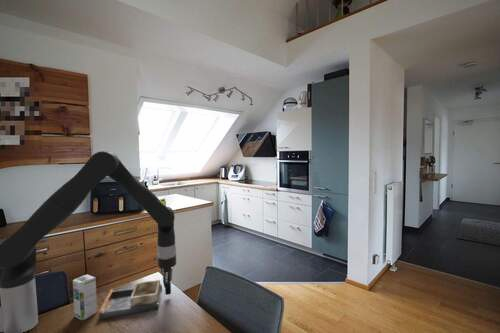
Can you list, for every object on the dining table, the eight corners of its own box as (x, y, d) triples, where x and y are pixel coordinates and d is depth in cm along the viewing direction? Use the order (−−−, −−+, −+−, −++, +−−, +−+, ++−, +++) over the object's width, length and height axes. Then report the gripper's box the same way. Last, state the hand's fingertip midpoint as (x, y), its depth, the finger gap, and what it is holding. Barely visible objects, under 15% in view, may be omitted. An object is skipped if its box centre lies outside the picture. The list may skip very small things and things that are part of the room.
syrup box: (73, 316, 95) (71, 280, 94) (89, 307, 101) (87, 273, 100) (82, 321, 93) (79, 283, 92) (98, 312, 98) (96, 276, 97)
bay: (99, 319, 94) (98, 311, 93) (111, 296, 108) (110, 289, 108) (158, 310, 99) (157, 302, 98) (162, 288, 114) (161, 282, 113)
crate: (130, 309, 98) (130, 298, 98) (136, 293, 109) (136, 282, 109) (157, 305, 100) (157, 294, 100) (160, 289, 112) (160, 279, 111)
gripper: (159, 249, 111) (160, 286, 112) (155, 262, 98) (157, 304, 99) (176, 247, 113) (177, 284, 114) (175, 260, 100) (176, 301, 101)
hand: (168, 293), depth 107 cm, fingers closed
